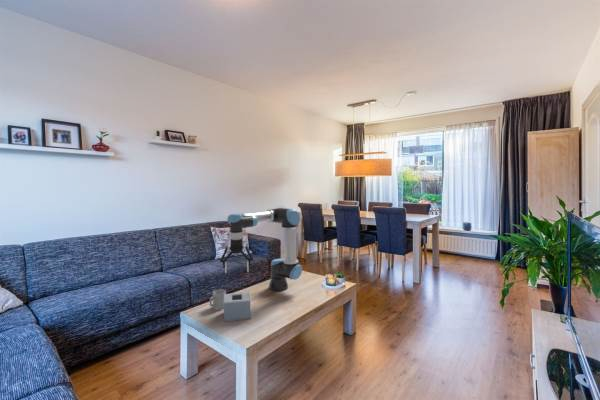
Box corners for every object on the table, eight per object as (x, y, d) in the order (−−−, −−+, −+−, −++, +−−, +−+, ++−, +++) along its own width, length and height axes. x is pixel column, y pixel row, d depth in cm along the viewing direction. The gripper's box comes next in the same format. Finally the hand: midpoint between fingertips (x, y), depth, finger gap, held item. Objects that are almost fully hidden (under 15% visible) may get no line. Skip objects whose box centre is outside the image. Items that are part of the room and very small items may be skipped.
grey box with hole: (249, 309, 195) (249, 292, 194) (250, 318, 182) (250, 299, 181) (224, 312, 191) (224, 294, 190) (223, 321, 179) (223, 302, 178)
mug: (220, 303, 205) (220, 288, 204) (228, 306, 200) (228, 291, 199) (205, 309, 195) (205, 293, 194) (214, 313, 190) (214, 296, 189)
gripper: (256, 236, 190) (256, 268, 191) (216, 238, 184) (216, 271, 186) (256, 238, 183) (257, 272, 184) (215, 240, 177) (216, 275, 179)
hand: (236, 272), depth 185 cm, fingers open, 13 cm apart
